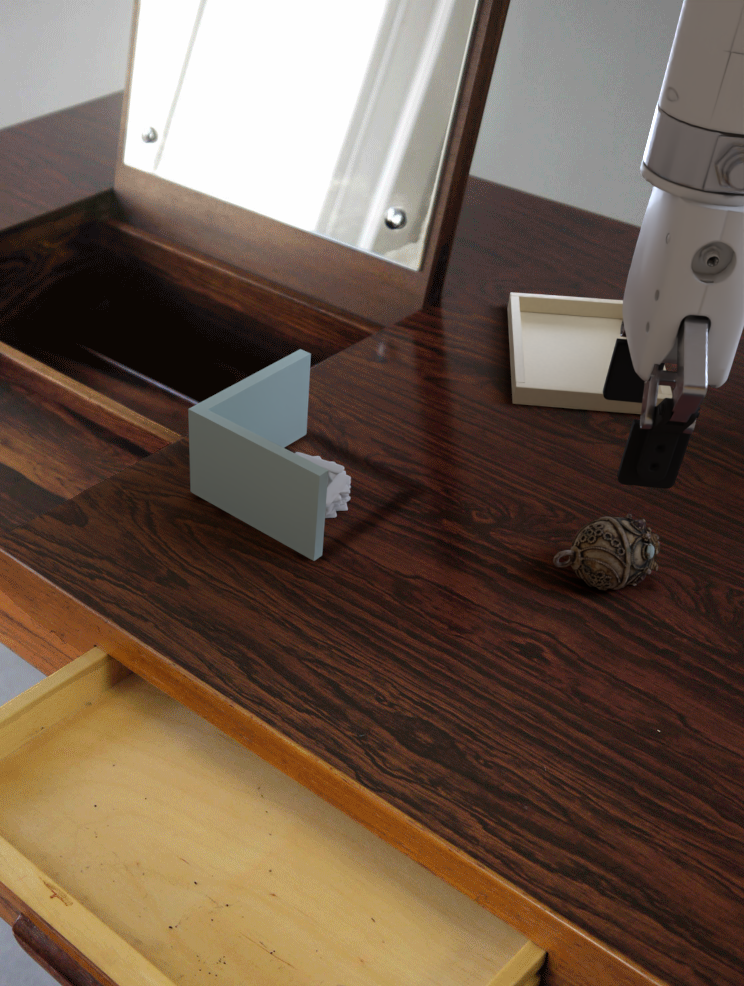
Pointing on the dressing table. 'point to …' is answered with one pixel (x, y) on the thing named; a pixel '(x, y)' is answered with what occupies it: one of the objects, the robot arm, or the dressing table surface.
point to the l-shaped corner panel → (266, 457)
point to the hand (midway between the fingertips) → (635, 439)
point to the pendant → (612, 552)
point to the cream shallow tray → (565, 351)
